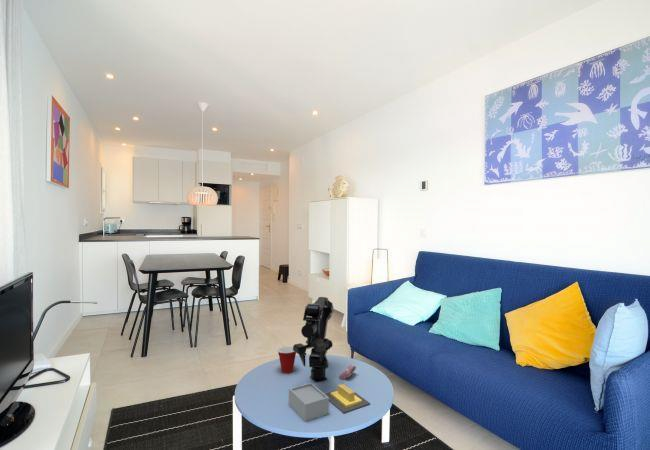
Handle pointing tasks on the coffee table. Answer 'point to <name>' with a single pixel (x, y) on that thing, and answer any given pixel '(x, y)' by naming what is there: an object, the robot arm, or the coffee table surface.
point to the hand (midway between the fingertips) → (312, 363)
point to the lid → (346, 396)
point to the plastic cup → (286, 358)
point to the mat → (348, 409)
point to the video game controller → (347, 372)
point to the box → (308, 401)
